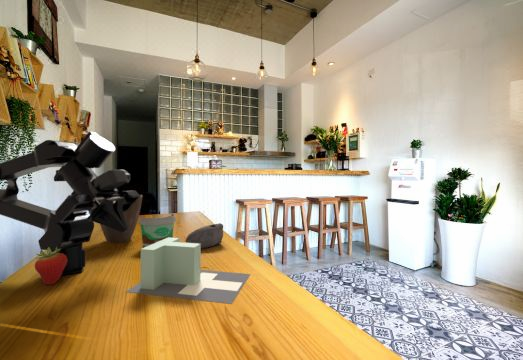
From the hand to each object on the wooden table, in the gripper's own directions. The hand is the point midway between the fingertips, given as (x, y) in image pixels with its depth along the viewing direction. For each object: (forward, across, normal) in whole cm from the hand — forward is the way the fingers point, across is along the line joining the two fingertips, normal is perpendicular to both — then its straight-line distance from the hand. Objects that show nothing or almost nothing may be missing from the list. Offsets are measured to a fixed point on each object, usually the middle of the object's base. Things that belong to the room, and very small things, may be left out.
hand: (125, 231), depth 57 cm
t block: (+16, 0, -2) cm, 16 cm away
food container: (+3, +24, +12) cm, 27 cm away
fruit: (-1, -6, +17) cm, 18 cm away
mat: (+19, 0, -4) cm, 20 cm away
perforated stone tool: (+13, +27, +2) cm, 30 cm away
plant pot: (-10, +28, +26) cm, 39 cm away
